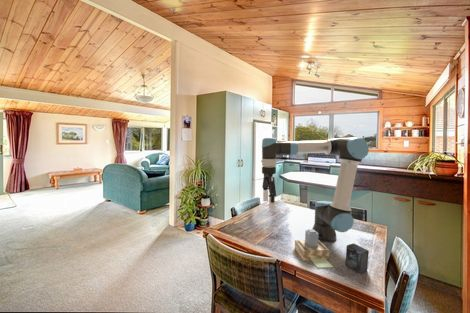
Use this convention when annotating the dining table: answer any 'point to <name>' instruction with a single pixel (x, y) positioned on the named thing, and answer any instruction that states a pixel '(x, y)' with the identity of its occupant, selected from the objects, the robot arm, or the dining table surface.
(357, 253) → the box
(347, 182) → the robot arm
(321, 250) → the socket block
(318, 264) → the felt pad
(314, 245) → the plug
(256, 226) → the dining table surface
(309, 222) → the dining table surface
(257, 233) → the dining table surface
